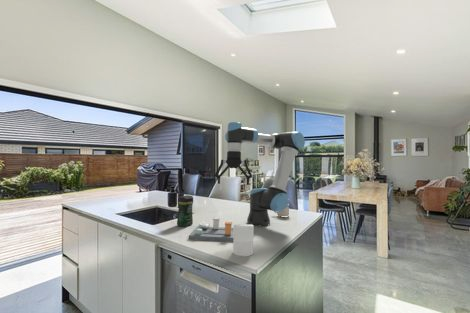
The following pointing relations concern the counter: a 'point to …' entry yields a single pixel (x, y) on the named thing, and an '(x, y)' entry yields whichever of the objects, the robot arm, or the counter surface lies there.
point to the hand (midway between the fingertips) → (233, 190)
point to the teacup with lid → (284, 212)
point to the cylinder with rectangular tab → (243, 240)
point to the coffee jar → (185, 211)
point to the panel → (211, 234)
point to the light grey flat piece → (204, 224)
